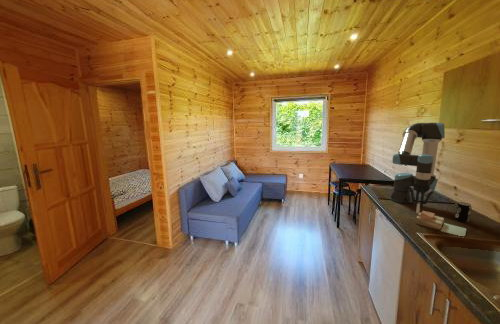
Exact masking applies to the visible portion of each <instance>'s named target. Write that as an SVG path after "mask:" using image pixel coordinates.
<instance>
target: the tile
mask: <svg viewBox="0 0 500 324" xmlns="http://www.w3.org/2000/svg"><path fill="white" fill-rule="evenodd" d="M421 212H422V213H421V214H420V218H423V219H427V220H431V221H432V219H433V218H434V216H436V214H435V212H434V213H433V212H432V211H431V212H430V211H425V210H422V211H421Z"/></svg>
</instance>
